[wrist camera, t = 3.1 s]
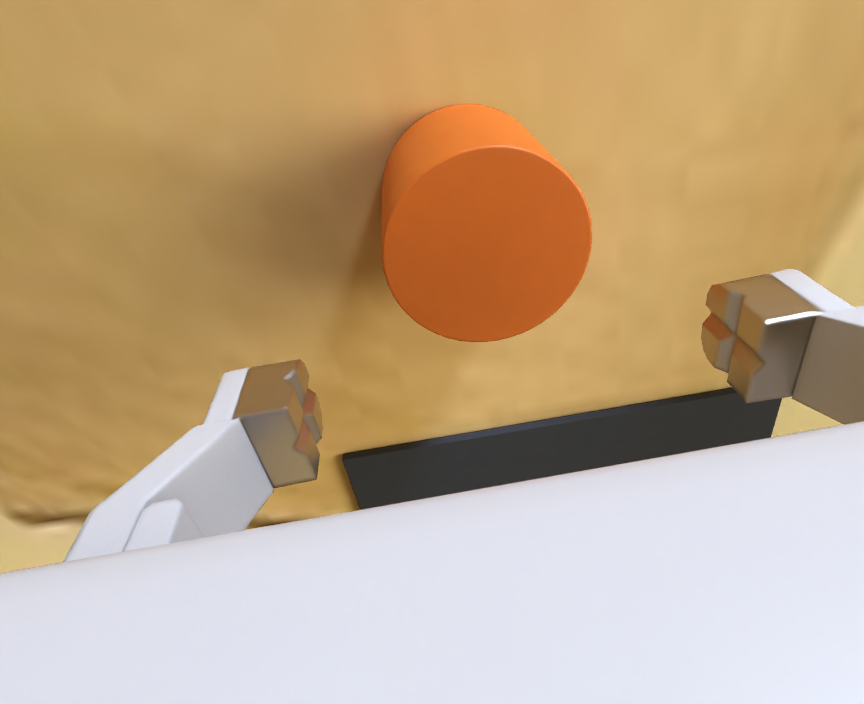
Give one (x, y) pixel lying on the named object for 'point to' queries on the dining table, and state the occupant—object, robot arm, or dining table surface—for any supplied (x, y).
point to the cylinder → (480, 226)
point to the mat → (556, 446)
